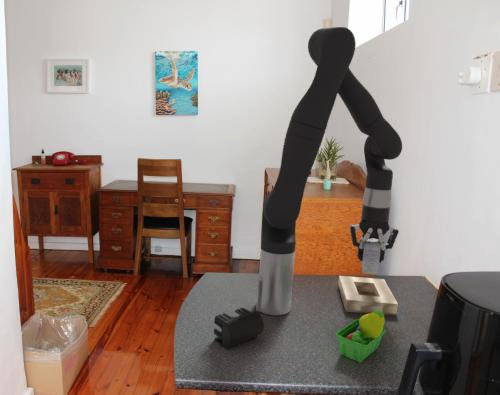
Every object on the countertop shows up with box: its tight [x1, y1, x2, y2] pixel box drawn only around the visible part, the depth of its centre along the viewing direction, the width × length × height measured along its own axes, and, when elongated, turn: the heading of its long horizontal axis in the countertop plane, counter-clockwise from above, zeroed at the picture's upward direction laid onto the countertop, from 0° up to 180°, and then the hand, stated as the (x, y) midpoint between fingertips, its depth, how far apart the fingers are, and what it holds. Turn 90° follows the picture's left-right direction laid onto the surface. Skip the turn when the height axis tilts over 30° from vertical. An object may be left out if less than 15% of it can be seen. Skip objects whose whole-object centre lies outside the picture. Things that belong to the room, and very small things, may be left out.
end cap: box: [213, 307, 265, 349], centre depth 107 cm, size 10×7×7 cm
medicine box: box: [360, 238, 380, 276], centre depth 132 cm, size 8×4×9 cm, turn 168°
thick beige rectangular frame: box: [337, 275, 399, 317], centre depth 135 cm, size 14×18×4 cm
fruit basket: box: [335, 310, 387, 363], centre depth 105 cm, size 11×9×11 cm
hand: (370, 260), depth 132 cm, fingers closed on medicine box, 4 cm apart
